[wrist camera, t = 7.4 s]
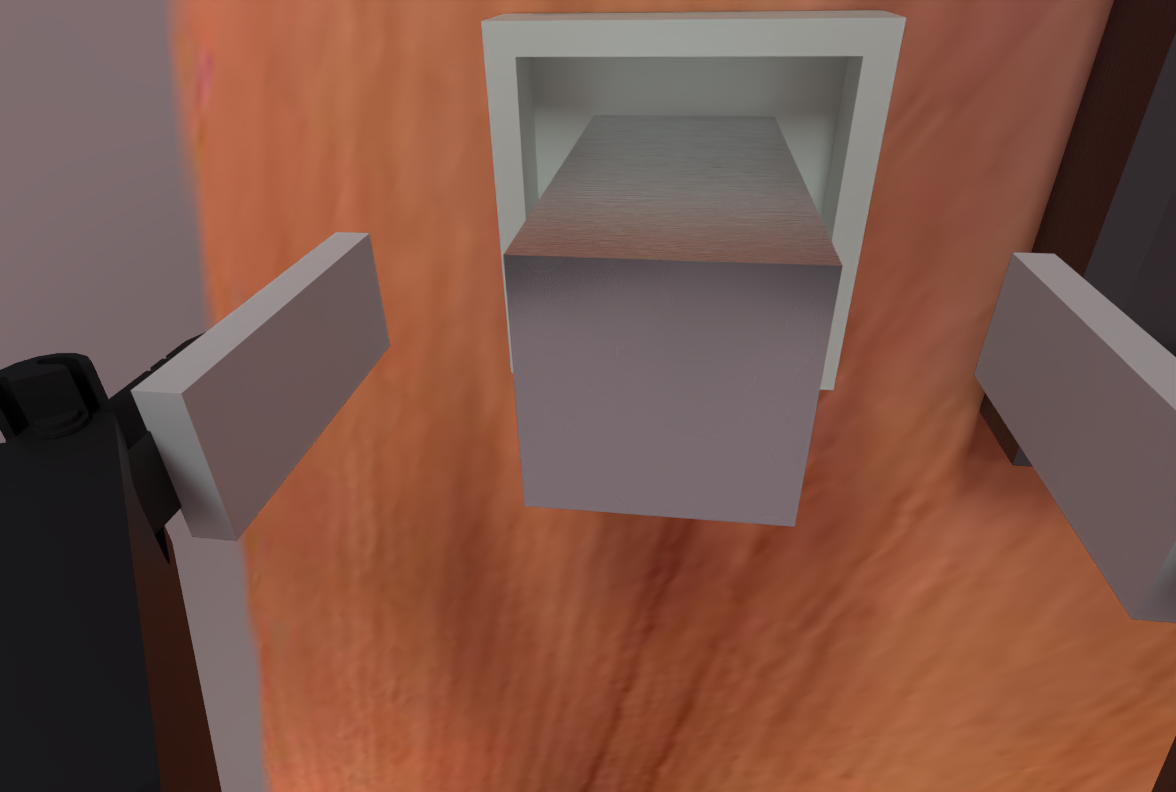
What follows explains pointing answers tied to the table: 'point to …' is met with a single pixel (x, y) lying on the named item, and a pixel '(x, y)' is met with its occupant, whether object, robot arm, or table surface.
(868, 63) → the tray
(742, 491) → the grey rectangular block
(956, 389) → the table surface
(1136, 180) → the dark rectangular frame
